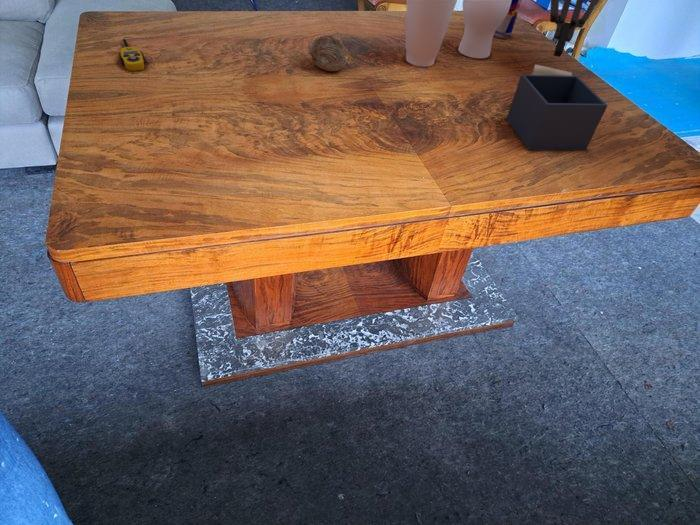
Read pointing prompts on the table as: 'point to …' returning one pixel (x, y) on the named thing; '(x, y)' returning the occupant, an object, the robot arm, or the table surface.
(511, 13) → the beverage can
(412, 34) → the cup
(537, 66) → the block
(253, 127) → the table surface
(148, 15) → the table surface
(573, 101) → the box
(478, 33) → the cup
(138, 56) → the yellow walkie talkie
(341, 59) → the seashell
